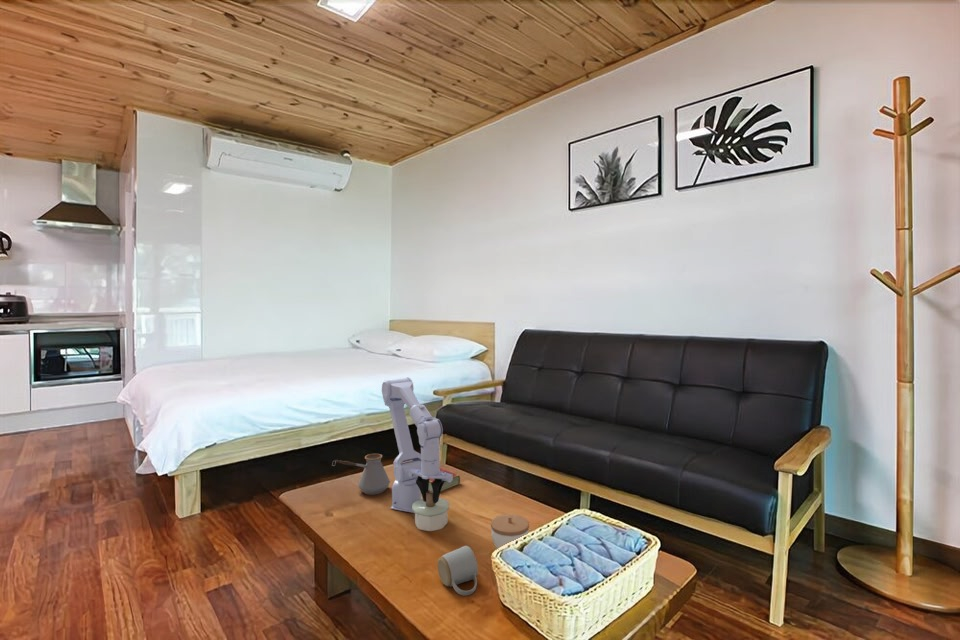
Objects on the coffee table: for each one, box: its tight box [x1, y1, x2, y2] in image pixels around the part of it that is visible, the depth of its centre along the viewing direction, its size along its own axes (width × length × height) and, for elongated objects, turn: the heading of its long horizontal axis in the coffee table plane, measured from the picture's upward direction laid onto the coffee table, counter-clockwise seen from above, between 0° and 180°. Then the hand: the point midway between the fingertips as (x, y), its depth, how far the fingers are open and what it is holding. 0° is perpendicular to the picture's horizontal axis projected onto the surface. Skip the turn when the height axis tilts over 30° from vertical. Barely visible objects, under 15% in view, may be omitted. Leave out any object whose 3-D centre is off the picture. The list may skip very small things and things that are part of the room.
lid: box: [412, 490, 450, 516], centre depth 146 cm, size 12×12×5 cm
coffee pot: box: [331, 453, 391, 496], centre depth 169 cm, size 21×12×15 cm, turn 130°
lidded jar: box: [490, 513, 530, 549], centre depth 131 cm, size 11×11×9 cm
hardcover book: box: [428, 467, 461, 492], centre depth 181 cm, size 12×21×4 cm, turn 46°
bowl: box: [414, 510, 448, 532], centre depth 147 cm, size 9×9×4 cm
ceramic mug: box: [437, 545, 479, 596], centre depth 115 cm, size 11×8×8 cm
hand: (430, 501), depth 146 cm, fingers closed on lid, 3 cm apart
